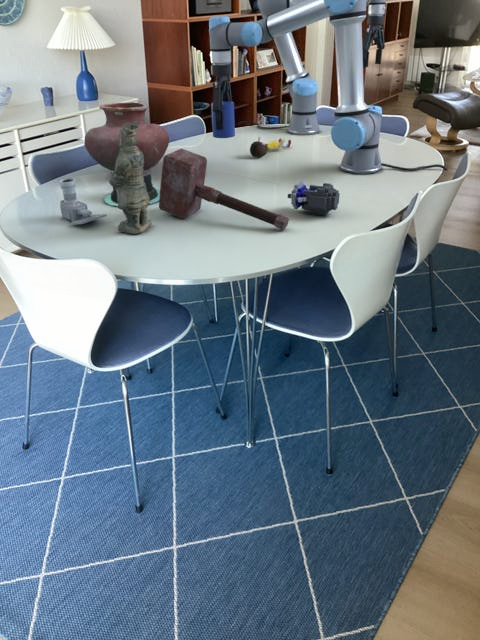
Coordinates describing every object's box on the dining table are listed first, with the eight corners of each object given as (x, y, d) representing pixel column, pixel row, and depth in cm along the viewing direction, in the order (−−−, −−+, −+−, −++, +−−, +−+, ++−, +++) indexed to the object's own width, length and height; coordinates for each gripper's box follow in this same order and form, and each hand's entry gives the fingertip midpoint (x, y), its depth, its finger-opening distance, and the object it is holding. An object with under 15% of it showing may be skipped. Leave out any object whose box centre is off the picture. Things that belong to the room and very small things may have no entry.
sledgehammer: (299, 190, 156) (179, 147, 167) (285, 200, 148) (161, 154, 160) (286, 244, 166) (174, 200, 177) (272, 256, 158) (156, 209, 170)
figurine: (298, 136, 240) (268, 140, 221) (297, 154, 243) (267, 160, 224) (272, 133, 246) (241, 137, 227) (271, 151, 249) (240, 156, 230)
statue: (131, 220, 168) (117, 116, 152) (158, 224, 164) (147, 118, 149) (109, 233, 159) (93, 124, 144) (138, 237, 156) (124, 126, 140)
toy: (295, 178, 172) (342, 184, 166) (295, 205, 177) (340, 211, 171) (285, 186, 166) (333, 192, 160) (284, 213, 170) (331, 220, 164)
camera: (73, 174, 169) (102, 184, 161) (79, 211, 176) (108, 223, 167) (48, 181, 164) (77, 191, 155) (55, 219, 170) (83, 231, 161)
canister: (210, 138, 216) (208, 105, 210) (215, 133, 223) (213, 101, 217) (232, 138, 214) (231, 105, 208) (236, 133, 222) (235, 101, 216)
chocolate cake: (91, 202, 180) (113, 186, 197) (142, 231, 182) (160, 212, 199) (107, 162, 172) (129, 148, 190) (160, 192, 174) (177, 176, 192)
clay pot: (179, 163, 223) (174, 97, 211) (157, 185, 198) (150, 112, 185) (108, 161, 228) (99, 97, 216) (77, 183, 203) (65, 111, 190)
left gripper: (371, 16, 246) (366, 68, 257) (395, 14, 263) (389, 63, 274) (356, 16, 250) (352, 67, 261) (380, 14, 267) (376, 62, 278)
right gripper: (220, 60, 216) (223, 121, 227) (201, 66, 198) (205, 132, 209) (239, 60, 214) (240, 121, 225) (221, 67, 196) (224, 132, 207)
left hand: (371, 65), depth 268 cm, fingers open, 13 cm apart
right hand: (223, 126), depth 217 cm, fingers closed on canister, 9 cm apart
